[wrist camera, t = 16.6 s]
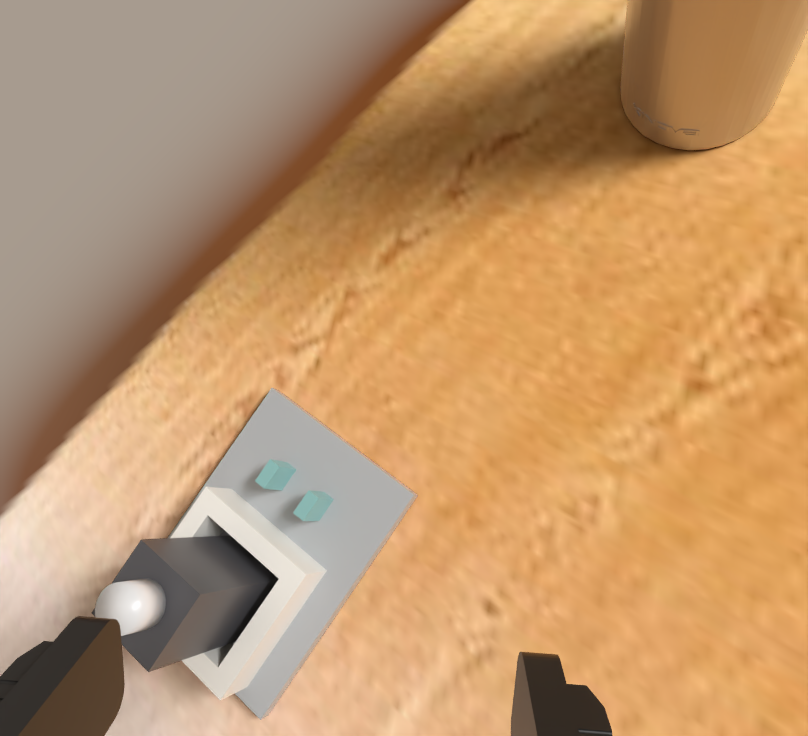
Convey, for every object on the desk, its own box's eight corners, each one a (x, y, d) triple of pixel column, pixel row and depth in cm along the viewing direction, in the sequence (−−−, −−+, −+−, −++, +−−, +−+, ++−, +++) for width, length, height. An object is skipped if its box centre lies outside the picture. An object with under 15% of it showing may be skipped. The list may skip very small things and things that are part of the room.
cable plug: (233, 535, 41) (113, 540, 31) (283, 578, 39) (175, 599, 29) (194, 593, 41) (60, 618, 30) (242, 639, 39) (119, 681, 29)
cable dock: (278, 390, 43) (249, 378, 40) (418, 495, 39) (400, 492, 36) (141, 587, 43) (99, 594, 39) (268, 714, 39) (234, 736, 35)
